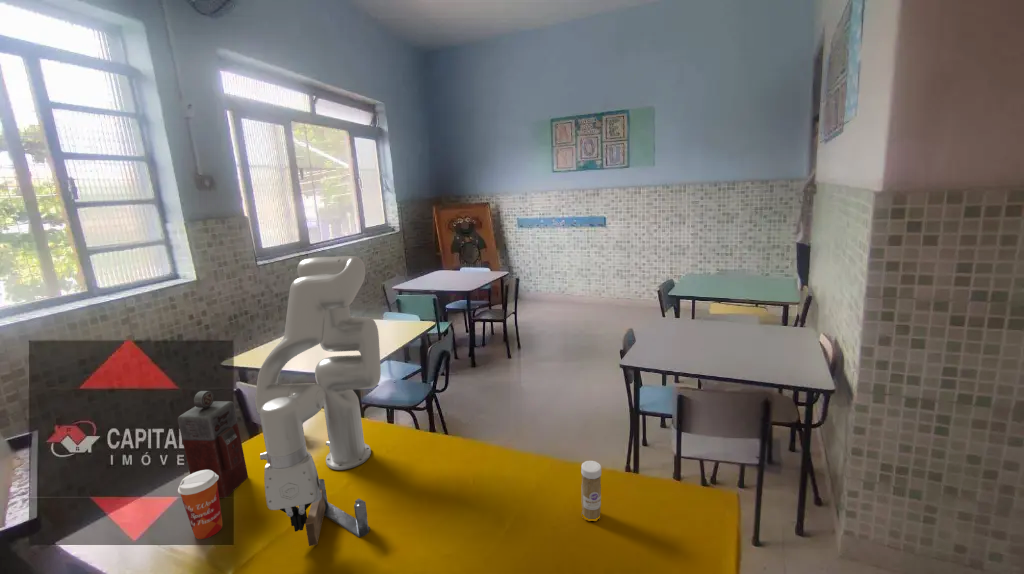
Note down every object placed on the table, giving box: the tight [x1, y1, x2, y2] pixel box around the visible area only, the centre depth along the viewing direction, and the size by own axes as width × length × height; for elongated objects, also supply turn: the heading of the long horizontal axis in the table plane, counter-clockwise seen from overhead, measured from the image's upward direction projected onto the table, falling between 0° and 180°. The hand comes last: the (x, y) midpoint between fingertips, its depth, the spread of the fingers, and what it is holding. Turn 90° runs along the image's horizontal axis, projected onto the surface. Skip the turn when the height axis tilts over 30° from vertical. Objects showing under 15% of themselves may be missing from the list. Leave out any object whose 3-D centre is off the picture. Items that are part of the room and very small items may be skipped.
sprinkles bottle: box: [580, 460, 602, 519], centre depth 104 cm, size 5×5×14 cm
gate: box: [304, 489, 325, 547], centre depth 104 cm, size 12×2×6 cm, turn 14°
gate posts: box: [319, 478, 371, 538], centre depth 107 cm, size 18×4×8 cm, turn 56°
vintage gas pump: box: [177, 390, 249, 499], centre depth 119 cm, size 9×11×28 cm
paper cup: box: [177, 470, 223, 540], centre depth 105 cm, size 8×8×14 cm
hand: (300, 526), depth 101 cm, fingers closed
